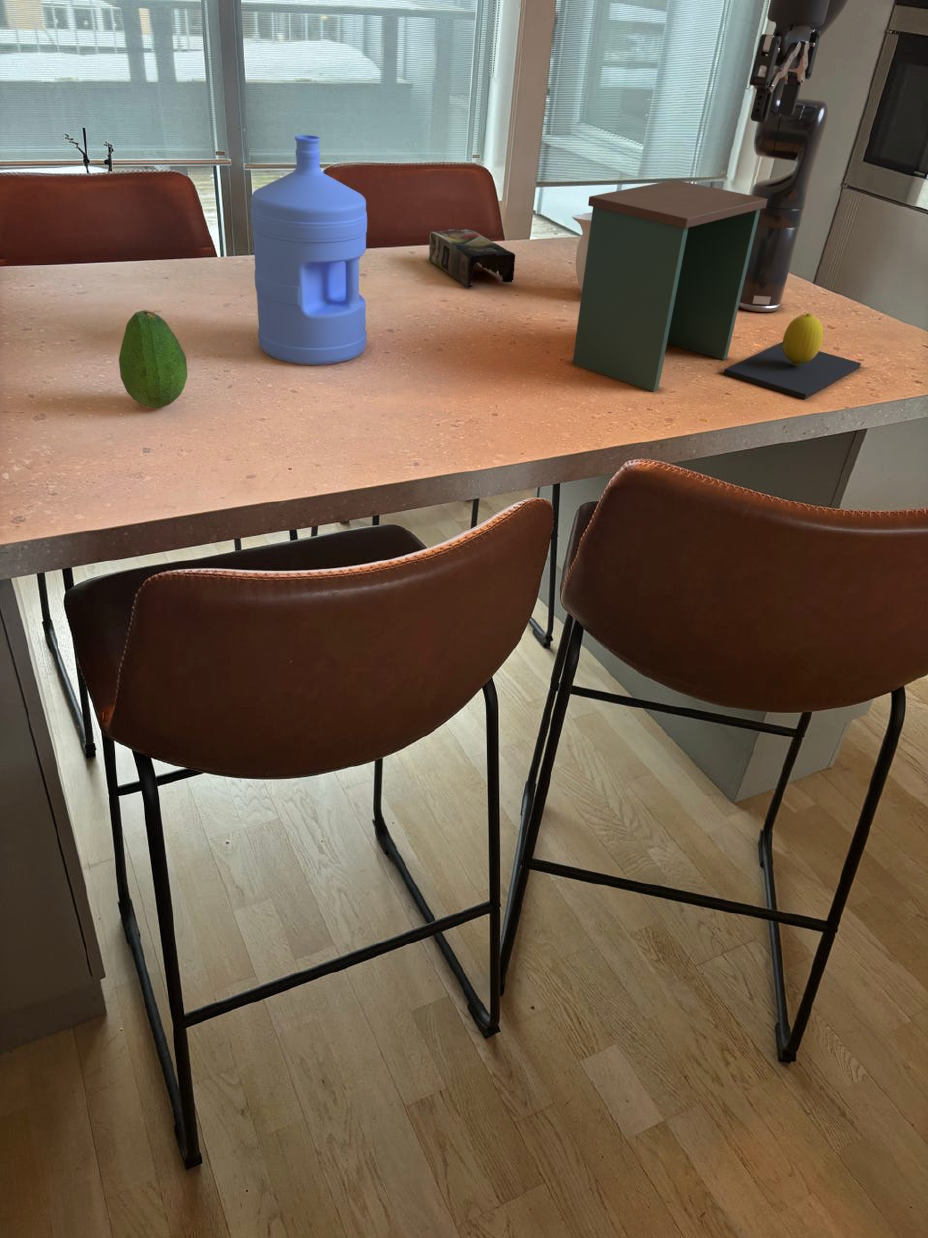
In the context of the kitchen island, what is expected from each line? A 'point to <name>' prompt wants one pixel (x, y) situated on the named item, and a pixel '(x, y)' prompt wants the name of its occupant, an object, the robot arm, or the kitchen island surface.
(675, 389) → the kitchen island surface
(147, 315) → the avocado
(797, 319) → the lemon
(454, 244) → the dark printed box
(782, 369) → the mat
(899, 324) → the kitchen island surface
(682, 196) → the cupboard
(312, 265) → the water jug
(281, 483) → the kitchen island surface
